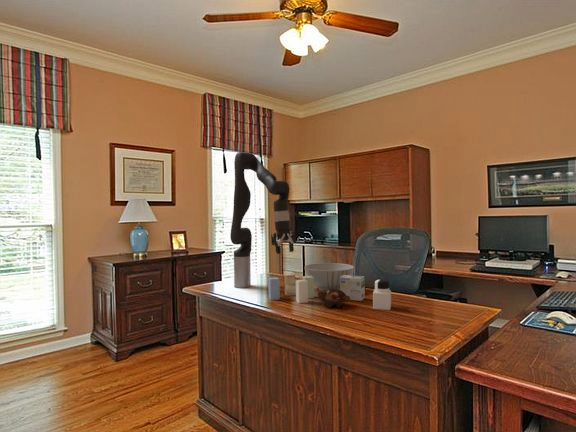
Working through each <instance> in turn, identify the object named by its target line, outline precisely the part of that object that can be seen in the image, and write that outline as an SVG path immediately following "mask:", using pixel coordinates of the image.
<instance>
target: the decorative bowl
mask: <svg viewBox="0 0 576 432" xmlns="http://www.w3.org/2000/svg"><path fill="white" fill-rule="evenodd" d="M354 270H355V266H354V265H352V264H348V263H337V262H336V263H335V262H320V263H318V262H317V263H310V264H307V265H305V266H304V271H305V273H306V276H312V277H314V286H315V287H317V289H318V291H319V290H325V291H327V290H329V289H338V290H340V277H341V276H343V275H349V276H353V274H354Z"/></svg>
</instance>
